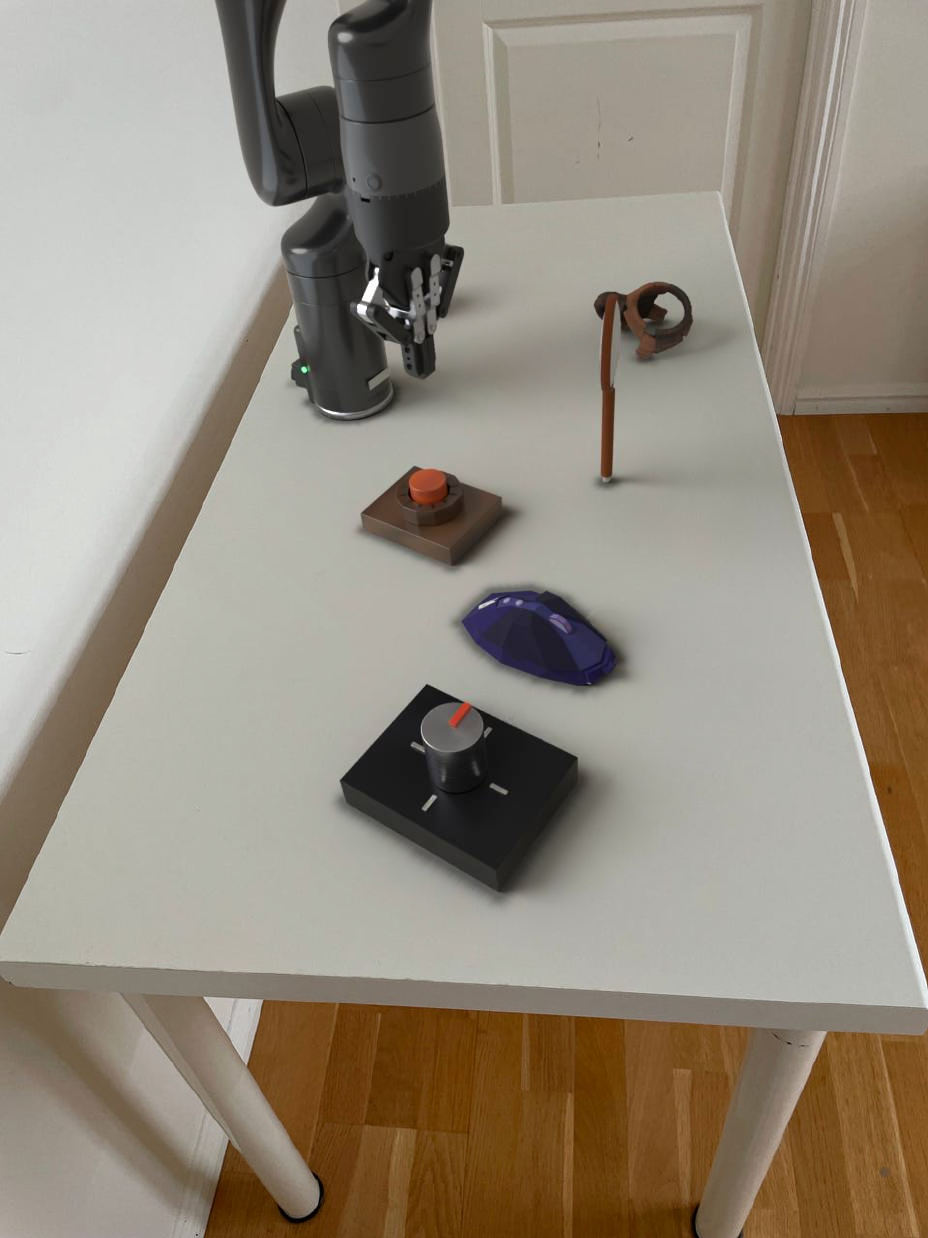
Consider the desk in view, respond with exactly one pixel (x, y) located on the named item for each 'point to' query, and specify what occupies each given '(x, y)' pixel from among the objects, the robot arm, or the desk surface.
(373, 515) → the block
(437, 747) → the hob knob
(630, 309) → the brown ring sculpture
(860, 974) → the desk surface
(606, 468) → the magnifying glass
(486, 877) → the panel
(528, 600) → the computer mouse
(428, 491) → the button
